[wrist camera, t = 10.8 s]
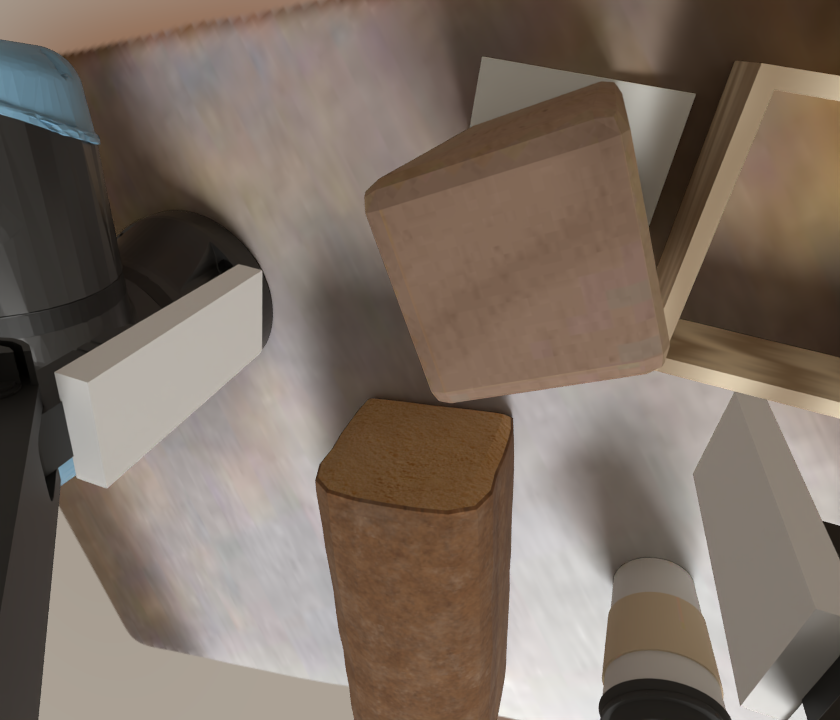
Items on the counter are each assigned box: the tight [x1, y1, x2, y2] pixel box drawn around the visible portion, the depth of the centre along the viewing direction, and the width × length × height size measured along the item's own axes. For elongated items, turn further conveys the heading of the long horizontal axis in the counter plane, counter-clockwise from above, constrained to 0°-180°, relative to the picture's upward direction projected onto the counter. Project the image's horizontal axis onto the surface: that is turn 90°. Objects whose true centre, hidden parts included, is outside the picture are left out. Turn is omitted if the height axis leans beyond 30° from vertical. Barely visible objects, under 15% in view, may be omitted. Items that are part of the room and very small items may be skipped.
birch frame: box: [655, 61, 840, 418], centre depth 33 cm, size 17×17×7 cm
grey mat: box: [470, 57, 696, 227], centre depth 39 cm, size 13×13×1 cm
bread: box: [315, 398, 514, 720], centre depth 52 cm, size 14×34×14 cm, turn 3°
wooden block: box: [364, 81, 670, 403], centre depth 30 cm, size 10×10×20 cm
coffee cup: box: [599, 558, 731, 720], centre depth 46 cm, size 9×9×15 cm
